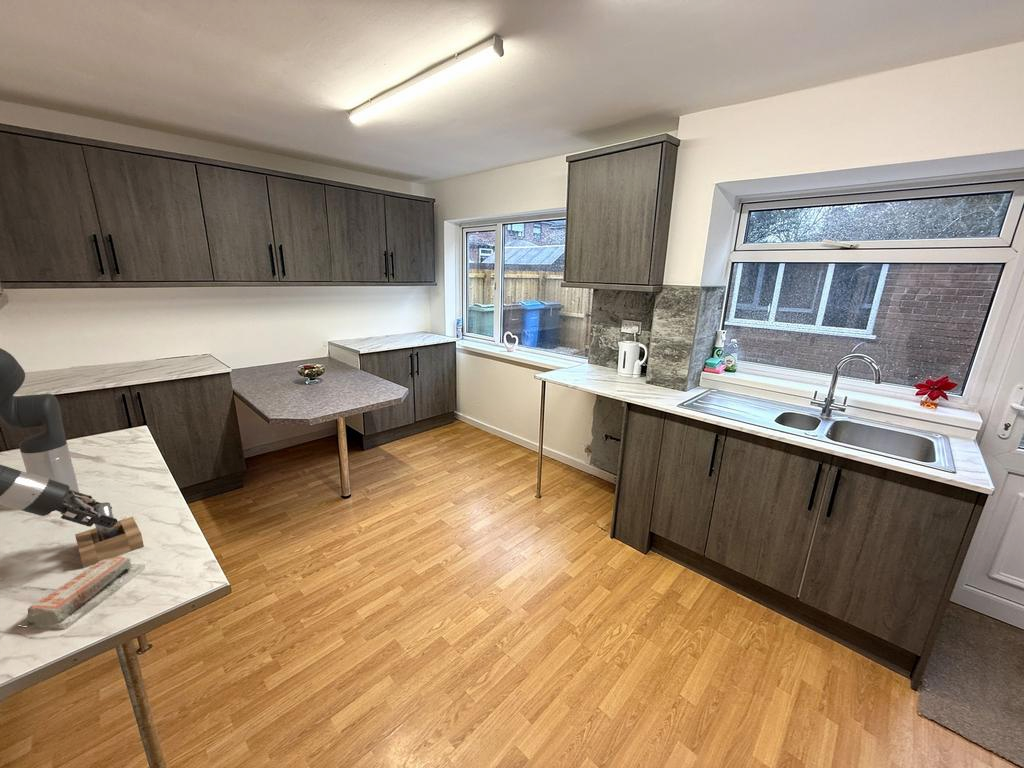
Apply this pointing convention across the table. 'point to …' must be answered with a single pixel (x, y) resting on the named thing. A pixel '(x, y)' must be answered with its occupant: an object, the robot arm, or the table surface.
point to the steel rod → (103, 531)
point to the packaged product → (82, 594)
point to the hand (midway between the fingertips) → (112, 517)
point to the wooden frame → (109, 542)
